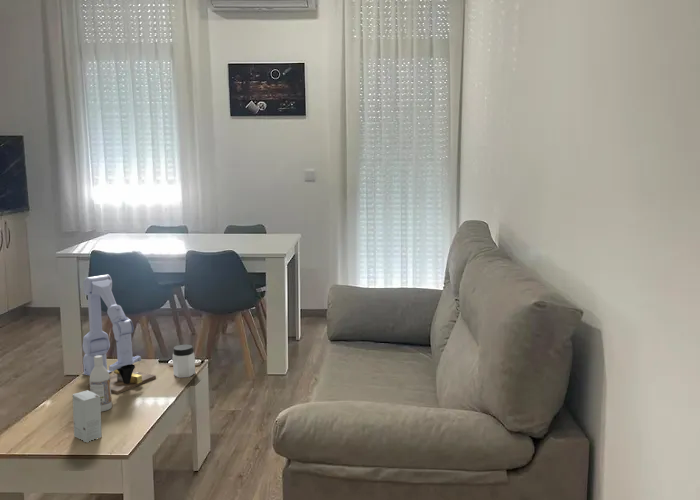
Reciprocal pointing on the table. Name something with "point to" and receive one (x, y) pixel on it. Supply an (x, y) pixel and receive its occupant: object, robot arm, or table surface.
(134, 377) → the door handle
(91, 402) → the skincare box
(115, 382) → the base
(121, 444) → the table surface
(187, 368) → the jar
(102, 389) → the bath foam
